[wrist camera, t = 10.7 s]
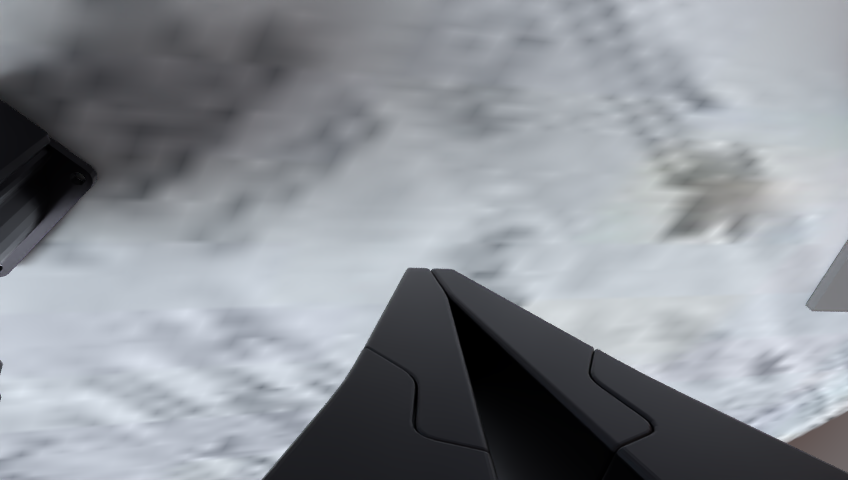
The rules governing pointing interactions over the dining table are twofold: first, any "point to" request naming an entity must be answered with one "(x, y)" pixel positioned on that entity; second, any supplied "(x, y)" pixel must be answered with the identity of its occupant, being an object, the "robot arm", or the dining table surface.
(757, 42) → the dining table surface
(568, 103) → the dining table surface
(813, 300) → the mat
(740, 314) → the dining table surface
